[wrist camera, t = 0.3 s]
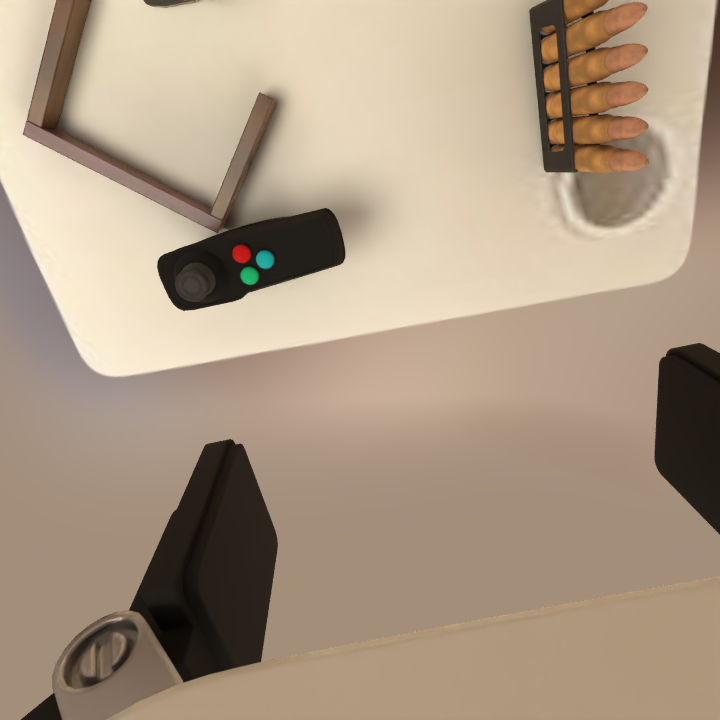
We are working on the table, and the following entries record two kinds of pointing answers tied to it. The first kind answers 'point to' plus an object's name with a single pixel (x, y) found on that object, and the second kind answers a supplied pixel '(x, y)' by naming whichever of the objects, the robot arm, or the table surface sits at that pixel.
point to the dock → (43, 130)
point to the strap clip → (167, 2)
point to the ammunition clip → (558, 74)
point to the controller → (251, 259)
